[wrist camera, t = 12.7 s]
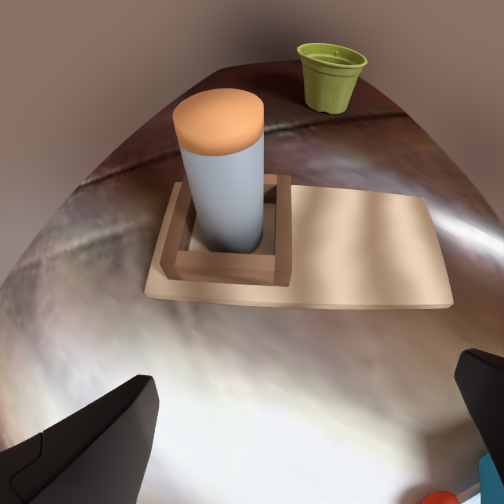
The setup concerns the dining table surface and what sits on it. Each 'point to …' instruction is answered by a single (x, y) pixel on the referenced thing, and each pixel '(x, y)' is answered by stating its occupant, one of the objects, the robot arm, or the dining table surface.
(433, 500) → the lever
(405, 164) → the dining table surface
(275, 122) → the dining table surface
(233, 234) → the orange-capped blue cylinder
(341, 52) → the plant pot
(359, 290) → the jig
